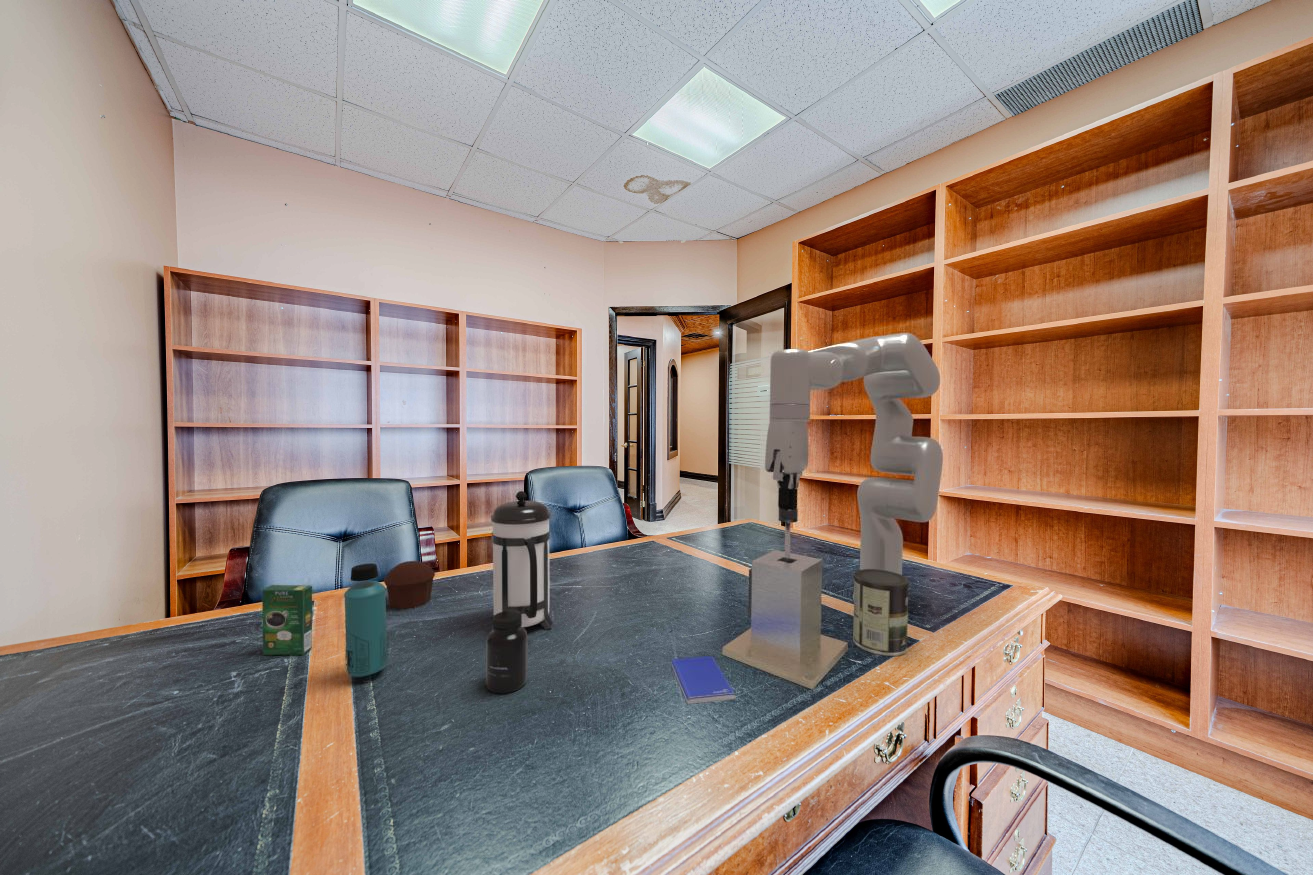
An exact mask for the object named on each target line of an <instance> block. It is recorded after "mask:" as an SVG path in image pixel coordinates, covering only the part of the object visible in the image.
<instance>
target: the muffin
mask: <svg viewBox="0 0 1313 875" xmlns="http://www.w3.org/2000/svg"><path fill="white" fill-rule="evenodd" d="M435 576H436V573H435V571H434V570H433V568H431V567H430V566H429V565H428V564H426V563H424V562H422V561H419V560H407V561H403V562H401V563H398V564H397V565H395V566H394V567H392V568H391V569H390V570H389V571H388V573H387V574H386V575H385V577H384V578H383V582H384V586H385V588H386V591H387V595H388V602H389V606H390V607H391V609H392V608H396V609H395V610H399V609H404V610H408V609H409V608H413V609H416V608H418V606H419V607H422V606H425V605H426V604H427V603H428V602H430V601H431V597H432V590H433V583H434V578H435ZM421 605H422V606H421ZM415 607H416V608H415ZM409 610H410V609H409Z"/></svg>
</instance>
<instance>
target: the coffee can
mask: <svg viewBox="0 0 1313 875" xmlns="http://www.w3.org/2000/svg"><path fill="white" fill-rule="evenodd" d="M853 579H854V580H853V593H854V600H853V631H852V632H853V633H852V634H853V635H852V641H853V643H854V644H855V645H856V646H857V647H858V648H860V649H862V650H863V651H866V652H868V653H871V654H875V655H877V656H878V655H879V656H884V657H885V656H886V657H898V656H903V655H905V654H906V653H907V652H908V621H909V620H908V619H909V617H908V616H909V586H910V579H909V578H908V577H906V576H904V575H903V574H902V575H900V574H898V573H894V572H890V571H885V570H878V569H863V570H860V569H858V570H855V571H854V572H853Z"/></svg>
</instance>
